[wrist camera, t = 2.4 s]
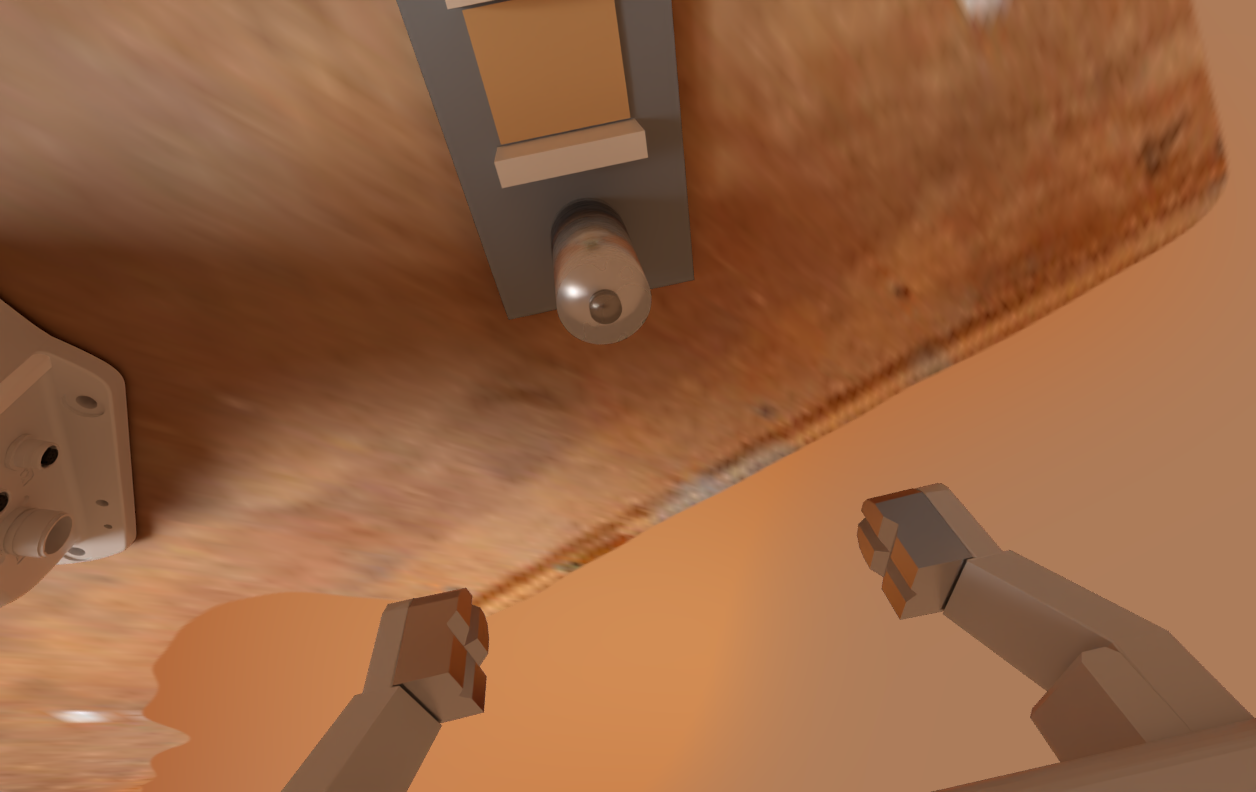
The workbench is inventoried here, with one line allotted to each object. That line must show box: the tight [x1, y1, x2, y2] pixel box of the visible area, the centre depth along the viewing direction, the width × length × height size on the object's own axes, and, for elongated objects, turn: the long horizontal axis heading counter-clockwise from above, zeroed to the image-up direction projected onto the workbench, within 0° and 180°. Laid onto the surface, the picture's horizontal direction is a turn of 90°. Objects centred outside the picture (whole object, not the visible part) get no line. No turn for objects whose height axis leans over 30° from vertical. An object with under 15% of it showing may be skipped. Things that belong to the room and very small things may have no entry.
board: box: [396, 0, 694, 320], centre depth 20 cm, size 22×10×1 cm, turn 9°
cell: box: [551, 198, 651, 344], centre depth 22 cm, size 4×4×8 cm
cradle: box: [445, 0, 648, 188], centre depth 19 cm, size 7×6×2 cm
